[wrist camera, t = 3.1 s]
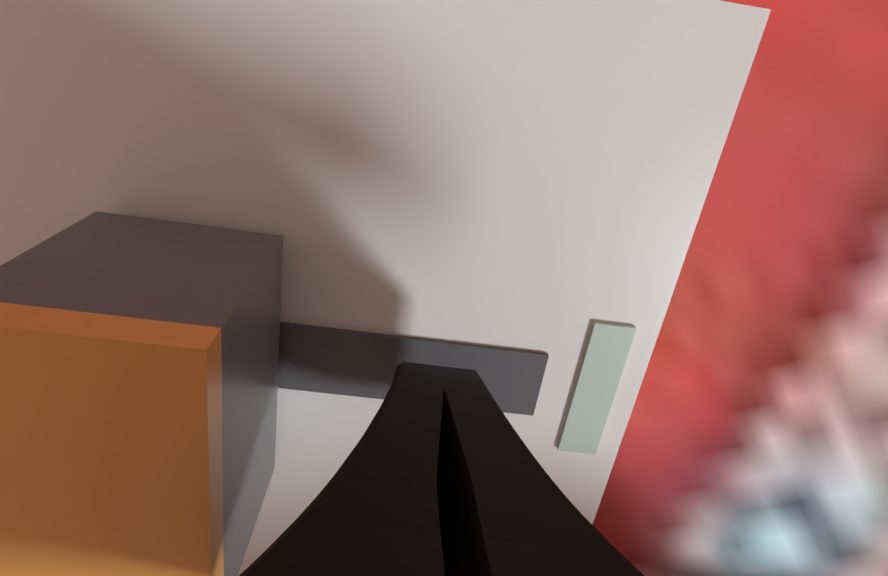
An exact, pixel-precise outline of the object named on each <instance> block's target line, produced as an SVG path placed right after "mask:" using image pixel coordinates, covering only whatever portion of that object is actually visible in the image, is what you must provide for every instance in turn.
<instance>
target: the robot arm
mask: <svg viewBox="0 0 888 576" xmlns="http://www.w3.org/2000/svg"><path fill="white" fill-rule="evenodd" d="M239 576H644V575H643V574H642V573H641V572H640V571H638V570H637V569H636V568H635V567H634V566H633V565H632V564H631V563H630V562H629V561H628V560H627V559H626V558H625V557H624V556H623V555H621V554H620V553H619V552H618V551H617V550H616V549H615V548H614V547H613V546H612V545H611V544H610V543H609V542H608V541H607V540H606V539H605V538H604V537H603V535H602V534H601V533H600V532H599V531H598V530H597V529H596V528H595V527H594V526H593V525H592V524H591V523H590V522H589V521H588V520H587V519H586V518H585V517H584V516H583V515H582V514H581V513H580V512H579V511H578V509H577V508H576V507H575V506H574V505H573V504H572V503H571V502H570V501H569V499H568V498H567V497H566V496H565V495H564V494H563V492H562V491H561V490H560V489H559V488H558V486H557V485H556V484H555V483H554V482H553V480H552V479H551V478H550V477H549V475H548V474H547V473H546V472H545V470H544V469H543V468H542V466H541V465H540V464H539V463H538V461H537V460H536V459H535V457H534V456H533V455H532V453H531V452H530V450H529V449H528V448H527V446H526V445H525V444H524V442H523V441H522V439H521V438H520V437H519V435H518V434H517V432H516V431H515V430H514V428H513V427H512V425H511V424H510V422H509V421H508V419H507V418H506V416H505V415H504V413H503V412H502V410H501V409H500V407H499V406H498V404H497V403H496V401H495V399H494V398H493V396H492V395H491V393H490V391H489V390H488V388H487V387H486V385H485V383H484V382H483V380H482V379H481V377H480V376H479V374H478V373H477V372H476V370H470V369H462V368H453V367H444V366H436V365H427V364H419V363H410V362H403V363H401V364H399V365H398V366H396V370H395V375H394V378H393V381H392V384H391V386H390V388H389V391H388V393H387V395H386V397H385V399H384V401H383V403H382V405H381V406H380V408H379V410H378V412H377V413H376V415H375V417H374V418H373V420H372V422H371V423H370V425H369V427H368V428H367V430H366V432H365V433H364V435H363V436H362V438H361V439H360V441H359V442H358V443H357V445H356V446H355V447H354V449H353V450H352V452H351V453H350V454H349V456H348V457H347V459H346V460H345V461H344V463H343V464H342V465H341V467H340V468H339V470H338V471H337V472H336V473H335V475H334V476H333V477H332V478H331V480H330V481H329V482H328V483H327V485H326V486H325V487H324V488H323V489H322V491H321V492H320V493H319V494H318V495H317V497H316V498H315V499H314V500H313V501H312V502H311V503H310V504H309V506H308V507H307V508H306V509H305V510H304V511H303V512H302V513H301V515H300V516H299V517H298V518H297V519H296V520H295V521H294V522H293V523H292V524H291V525H290V526H289V527H288V528H287V529H286V530H285V531H284V532H283V533H282V534H281V535H280V536H279V537H278V538H277V539H276V540H275V541H274V542H273V543H272V544H271V545H270V546H269V547H268V548H267V550H266V551H264V552H263V553H262V554H261V555H260V556H259V557H258V558H257V559H256V560H255V561H254V562H253V563H252V564H251V565H250V566H249V567H248V568H246V569H245V570H244V571H243V572H242V573H241V574H240V575H239Z"/></svg>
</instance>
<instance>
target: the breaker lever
mask: <svg viewBox="0 0 888 576" xmlns="http://www.w3.org/2000/svg"><path fill="white" fill-rule="evenodd" d="M282 260H283V236H281V235H273V234H266V233H258V232H250V231H243V230H235V229H227V228H220V227H212V226H204V225H197V224H189V223H181V222H174V221H166V220H158V219H151V218H143V217H135V216H128V215H120V214H112V213H105V212H97V211H96V212H94V213H92V214H91V215H89V216H87V217H85V218H83V219H82V220H80V221H78V222H76V223H75V224H73V225H71V226H69V227H68V228H66V229H64V230H62V231H61V232H59V233H57V234H55V235H54V236H52V237H50V238H48V239H46V240H45V241H43V242H41V243H39V244H38V245H36V246H34V247H32V248H31V249H29V250H27V251H25V252H24V253H22V254H20V255H18V256H16V257H15V258H13V259H11V260H9V261H8V262H6V263H4V264H2V265H1V266H0V576H238V573H239V571H240V568H241V565H242V562H243V559H244V556H245V553H246V550H247V547H248V544H249V541H250V538H251V535H252V533H253V530H254V527H255V524H256V521H257V518H258V515H259V512H260V509H261V506H262V503H263V500H264V498H265V495H266V492H267V489H268V486H269V483H270V480H271V477H272V474H273V471H274V468H275V445H276V419H277V392H278V366H279V339H280V313H281V286H282Z"/></svg>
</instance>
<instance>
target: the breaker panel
mask: <svg viewBox="0 0 888 576" xmlns="http://www.w3.org/2000/svg"><path fill="white" fill-rule="evenodd" d="M770 11H771V9H765V8H759V7H754V6H748V5H742V4H737V3H731V2H725V1H720V0H0V266H1V265H2V264H4V263H6V262H8V261H9V260H11V259H13V258H15V257H16V256H18V255H20V254H22V253H24V252H25V251H27V250H29V249H31V248H32V247H34V246H36V245H38V244H39V243H41V242H43V241H45V240H46V239H48V238H50V237H52V236H54V235H55V234H57V233H59V232H61V231H62V230H64V229H66V228H68V227H69V226H71V225H73V224H75V223H76V222H78V221H80V220H82V219H83V218H85V217H87V216H89V215H91V214H92V213H94V212H96V211H97V212H105V213H112V214H120V215H128V216H135V217H143V218H151V219H158V220H166V221H174V222H181V223H189V224H197V225H204V226H212V227H220V228H227V229H235V230H243V231H250V232H258V233H266V234H273V235H281V236H283V260H282V286H281V313H280V339H279V366H278V392H277V419H276V445H275V468H274V471H273V474H272V477H271V480H270V483H269V486H268V489H267V492H266V495H265V498H264V500H263V503H262V506H261V509H260V512H259V515H258V518H257V521H256V524H255V527H254V530H253V533H252V535H251V538H250V541H249V544H248V547H247V550H246V553H245V556H244V559H243V562H242V565H241V568H240V571H239V573H238V576H239V575H240V574H241V573H242V572H243V571H244V570H245V569H246V568H248V567H249V566H250V565H251V564H252V563H253V562H254V561H255V560H256V559H257V558H258V557H259V556H260V555H261V554H262V553H263V552H264V551H266V550H267V548H268V547H269V546H270V545H271V544H272V543H273V542H274V541H275V540H276V539H277V538H278V537H279V536H280V535H281V534H282V533H283V532H284V531H285V530H286V529H287V528H288V527H289V526H290V525H291V524H292V523H293V522H294V521H295V520H296V519H297V518H298V517H299V516H300V515H301V513H302V512H303V511H304V510H305V509H306V508H307V507H308V506H309V504H310V503H311V502H312V501H313V500H314V499H315V498H316V497H317V495H318V494H319V493H320V492H321V491H322V489H323V488H324V487H325V486H326V485H327V483H328V482H329V481H330V480H331V478H332V477H333V476H334V475H335V473H336V472H337V471H338V470H339V468H340V467H341V465H342V464H343V463H344V461H345V460H346V459H347V457H348V456H349V454H350V453H351V452H352V450H353V449H354V447H355V446H356V445H357V443H358V442H359V441H360V439H361V438H362V436H363V435H364V433H365V432H366V430H367V428H368V427H369V425H370V423H371V422H372V420H373V418H374V417H375V415H376V413H377V412H378V410H379V408H380V406H381V405H382V403H383V401H384V399H385V397H386V395H387V393H388V391H389V388H390V386H391V384H392V381H393V378H394V375H395V370H396V366H398V365H399V364H401V363H403V362H410V363H419V364H427V365H436V366H444V367H453V368H462V369H470V370H476V372H477V373H478V374H479V376H480V377H481V379H482V380H483V382H484V383H485V385H486V387H487V388H488V390H489V391H490V393H491V395H492V396H493V398H494V399H495V401H496V403H497V404H498V406H499V407H500V409H501V410H502V412H503V413H504V415H505V416H506V418H507V419H508V421H509V422H510V424H511V425H512V427H513V428H514V430H515V431H516V432H517V434H518V435H519V437H520V438H521V439H522V441H523V442H524V444H525V445H526V446H527V448H528V449H529V450H530V452H531V453H532V455H533V456H534V457H535V459H536V460H537V461H538V463H539V464H540V465H541V466H542V468H543V469H544V470H545V472H546V473H547V474H548V475H549V477H550V478H551V479H552V480H553V482H554V483H555V484H556V485H557V486H558V488H559V489H560V490H561V491H562V492H563V494H564V495H565V496H566V497H567V498H568V499H569V501H570V502H571V503H572V504H573V505H574V506H575V507H576V508H577V509H578V511H579V512H580V513H581V514H582V515H583V516H584V517H585V518H586V519H587V520H588V521H589V522H590V523H591V524H592V525H593V522H594V519H595V516H596V513H597V510H598V507H599V505H600V502H601V499H602V496H603V493H604V490H605V487H606V484H607V481H608V479H609V476H610V473H611V470H612V467H613V464H614V461H615V458H616V455H617V453H618V450H619V447H620V444H621V441H622V438H623V435H624V432H625V429H626V427H627V424H628V421H629V418H630V415H631V412H632V409H633V406H634V404H635V401H636V398H637V395H638V392H639V389H640V386H641V383H642V380H643V378H644V375H645V372H646V369H647V366H648V363H649V360H650V357H651V354H652V352H653V349H654V346H655V343H656V340H657V337H658V334H659V331H660V328H661V326H662V323H663V320H664V317H665V314H666V311H667V308H668V305H669V303H670V300H671V297H672V294H673V291H674V288H675V285H676V282H677V279H678V277H679V274H680V271H681V268H682V265H683V262H684V259H685V256H686V253H687V251H688V248H689V245H690V242H691V239H692V236H693V233H694V230H695V228H696V225H697V222H698V219H699V216H700V213H701V210H702V207H703V204H704V202H705V199H706V196H707V193H708V190H709V187H710V184H711V181H712V178H713V176H714V173H715V170H716V167H717V164H718V161H719V158H720V155H721V152H722V150H723V147H724V144H725V141H726V138H727V135H728V132H729V129H730V127H731V124H732V121H733V118H734V115H735V112H736V109H737V106H738V103H739V101H740V98H741V95H742V92H743V89H744V86H745V83H746V80H747V77H748V75H749V72H750V69H751V66H752V63H753V60H754V57H755V54H756V51H757V49H758V46H759V43H760V40H761V37H762V34H763V31H764V28H765V26H766V23H767V20H768V17H769V14H770Z"/></svg>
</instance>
